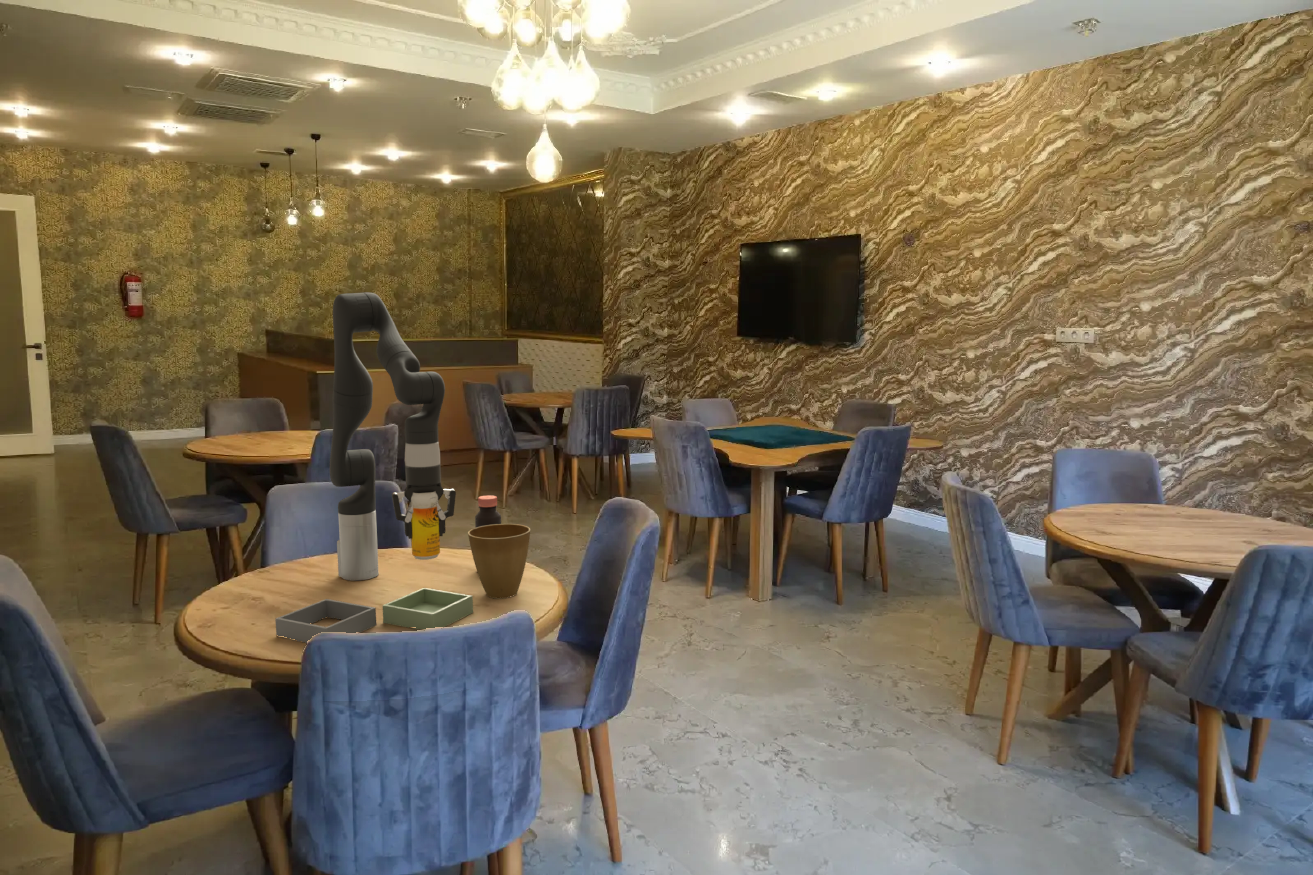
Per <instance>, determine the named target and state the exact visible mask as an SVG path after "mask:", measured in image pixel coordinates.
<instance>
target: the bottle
mask: <svg viewBox="0 0 1313 875" xmlns="http://www.w3.org/2000/svg"><path fill="white" fill-rule="evenodd" d="M477 504H478V508H479V511H478V512H477V513H476V515H475V517H474V523H475V524H474V525H475V528H477V527H481V526H486V525H494V524H502V515H501V513H500V512H499V511H498V510H497V507H498V497H497V496H496V495H490V494H489V495H480V496H479V497H477Z"/></svg>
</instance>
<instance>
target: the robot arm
mask: <svg viewBox="0 0 1313 875" xmlns="http://www.w3.org/2000/svg"><path fill="white" fill-rule="evenodd" d="M393 320H394V319H393V318H392V317H391V315H390V313H389V310H388V308H387V306H386V305H385V303H384V301H383V300H382V299H381V297H380V296H379V295H378V294H376V293H375V292H367V291H366V292H355V293H354V292H352V293H349V292H348V293H341V294H340V293H339V294H338V295H336V296H335V298H334V300H333V303H332V326H333V328H332V329H333V345H334V364H333V365H334V371H333V383H332V384H333V386H332V387H333V388H332V390H333V391H332V419H333V421H332V435H331V436H332V438H331V445H330V446H331V448H330V456H329V477H330V481H331V483H332V485H333V486H334V487H338V488H347V487H357V486H359V488H358V489H357V490H356V491H355V492H354V493H352V494H351V495H349V496H346V497H344V498H343V499H341V500H339V501H338V503H337V514H338V530H339V532H338V533H339V534H338V535H339V539H338V540H337V541H336V549H337V553H336V555H337V570H338V571H337V572H338V577H341V578H342V579H343V580H346V581H364V580H370V579H372V578H375V577H377V576H379V553H378V552H379V551H378V533H377V531H378V530H377V511H376V509H377V507H376V460H375V456H374V453H373V451H372V450H371V449H368V448H365V449H364V448H363V449H361V448H360V449H349V450H348V447H349V444H350V441H351V439H352V437H353V435H354V434H355V432H356V431H357V430H358V428H359V427H360V426H361V425H362V424H363V422H364V421H365V419H366V418H367V417H368V415H369V414H370V411H371V409H372V407H373V393H374V390H373V389H374V382H373V379H372V377H371V374H370V373H369V371H368V370H367V368H366V366H364V364H363V363H362V361H361V360H360V358H359V356H358V354H357V353H356V351H355V348H354V340H353V335H354V334H355V333H367V332H373V331H374V332H377V333H378V334H379V337H378V341H377V345H376V356H377V359H378V362H380V364H381V365H382V367H383V368H384V370H385V372H386V373H388V375H389V377H390V381H391V383H392V386H393V390H394V395H395V397H396V399H397V400H398V402H400V403H402V404H403V405H406V406H414V405H415V406H417V405H422V406H421V407H422V408H421V409H420V412H418V413H415V414H413V415H411V416H408V417H406V419H405V421H404V437H405V438H404V441H405V446H404V448H405V449H404V468H405V489H404V490H403V491H400V492H395V491H393V492H392V493H391V500H392V504H393V509H394V516H395V519H396V520H397V521H402V522H403V523H404V535H405V536H406V537H407V538H408V540H409V539H410V540H411V539H412V524H411V518H412V513H413V504H412V505H411V507H410V503H411V497H412V495H413V493H430V492H435V491H436V494H437V496H438V502H437V511H438V515H439V536H440V537H443V534H446V519H447V518H452V517H453V516H454V515H455V505H456V495H457V492H456V490H455V488H452V487H451V488H450V489H449V488H443V486H442V472H441V471H442V470H441V469H442V468H441V450H440V445H439V443H440V442H439V420H440V417H441V410H442V407H443V403H444V398H445V393H446V386H445V385H446V384H445V382H444V379H443V377H442V376H441V375H440V373H438V372H436V371H420V370H421V364H420V361H419V359H418V357H416V355H415V354H414V353H413V352H412V350H411V348H410V347H408V345H407V344H406V342H404V340H403V339H402V336H401V335H400V333H399V331H398V328H397V326H396V324H395V322H394V321H393ZM443 495H445V496H444V497H445V498H446V499H447V506H446V510H445V511H443V509H442V507H441V505H439V504H440V503H439V500H440V499H441V498H442V496H443ZM404 497H405V498H406V499H407V501H408V502H409V505H408V506H407V511H406V512H405V514H403V513H402V510H401V505H400V503H402V502H403V498H404Z"/></svg>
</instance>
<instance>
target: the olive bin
mask: <svg viewBox="0 0 1313 875" xmlns="http://www.w3.org/2000/svg"><path fill="white" fill-rule="evenodd" d="M473 601H474V600H473V595H472V594H471V595H470V594H466V593H465V594H464V593H459V592H454V591H453V592H451V591H446V590H439V589H434V588H427V587H423V588H420V589H418V590H415V591H413V592H410V593H408V594H407V595H403V596H401V597H399V598H396V599H393V600H392V601H390V602H387V603H385V604H382V623H383V624H389V625H392V626H393V625H394V626H398V627H404V628H409V627H416V628H413V629H414V630H419V629H426V628H435V627H443V628H445V627H447V626H450V625H452V624H453V623H455V622H457V621H459V620H461V619H463V618H465V617H466V616H469V615H471V614H473V613H474V602H473Z"/></svg>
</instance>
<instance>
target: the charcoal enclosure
mask: <svg viewBox="0 0 1313 875" xmlns="http://www.w3.org/2000/svg"><path fill="white" fill-rule="evenodd" d="M326 617H327V618H329V617H330V618H329V619H334V618H337V619H336V620H339V619H341V620H339V621H337V622H334V623H333V624H330V625H328V626H323V625H317V624H314V623H316V621H317V622H319V621H321V620H320V619H322V618H324V619H326ZM318 620H319V621H318ZM322 620H323V619H322ZM310 623H312V624H310ZM375 626H377V608H376V607H374V606H368V605H363V604H362V605H361V604H358V603H352V602H346V601H340V600H334V599H330V598H326V599H322V600H320V601H317V602H315V603H312V604H310V605H307V606H304V607H301V608H299V609H296V610H294V611H291V612H289V613H286V614H284V615H281V616H278V617H276V618H275V635H278V636H284V637H287V638H291V639H295V640H297V641H296V642H300V641H302V642H301V643H304V642H305V644H308V643H307V641H308V640H310V639H311V638H312V636H314V635H316V634H318V633H321V632H346V633H356V632H360V633H362V632H365V631H367V630H368V629H371V628H374V627H375ZM364 630H365V631H364ZM295 640H294V641H295Z"/></svg>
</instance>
